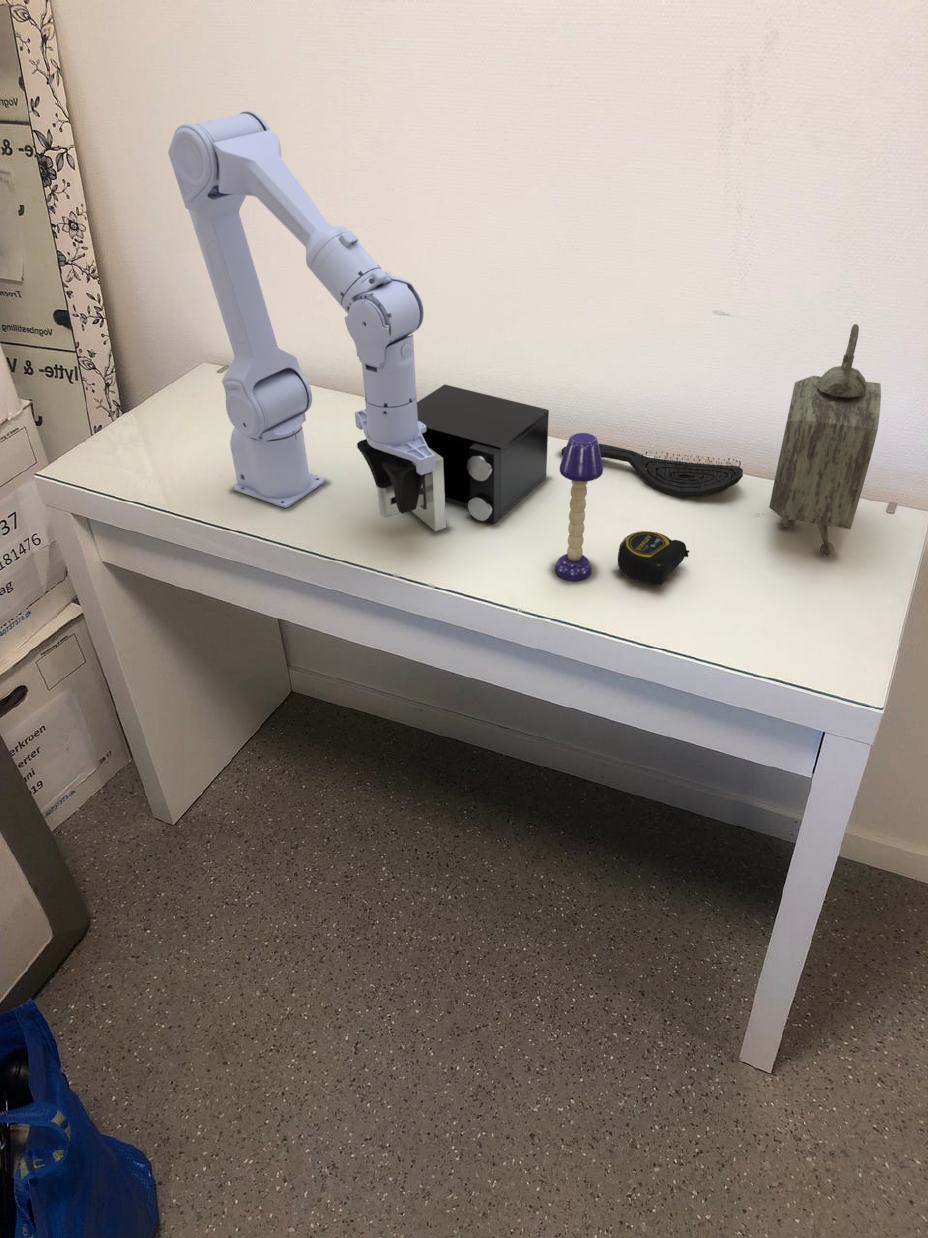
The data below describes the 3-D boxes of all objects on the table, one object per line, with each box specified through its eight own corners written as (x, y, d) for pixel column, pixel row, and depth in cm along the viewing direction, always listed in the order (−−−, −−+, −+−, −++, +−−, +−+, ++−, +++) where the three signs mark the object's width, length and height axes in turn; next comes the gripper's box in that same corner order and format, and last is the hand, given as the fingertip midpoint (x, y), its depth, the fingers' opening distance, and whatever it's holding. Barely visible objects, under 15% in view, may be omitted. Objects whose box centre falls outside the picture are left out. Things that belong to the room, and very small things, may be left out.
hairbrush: (575, 422, 130) (752, 453, 119) (575, 446, 132) (748, 478, 121) (549, 447, 124) (732, 481, 113) (550, 471, 126) (729, 507, 116)
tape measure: (659, 596, 102) (663, 568, 100) (605, 575, 105) (607, 548, 103) (687, 567, 106) (691, 540, 104) (634, 548, 109) (637, 521, 107)
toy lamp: (553, 557, 108) (559, 428, 98) (593, 557, 108) (603, 427, 98) (555, 581, 105) (562, 449, 94) (596, 581, 104) (607, 448, 94)
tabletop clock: (840, 567, 105) (898, 357, 90) (759, 553, 108) (802, 347, 93) (845, 505, 116) (898, 308, 101) (771, 494, 119) (811, 300, 103)
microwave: (490, 528, 114) (490, 455, 108) (386, 495, 121) (380, 425, 115) (546, 478, 123) (548, 409, 117) (447, 450, 130) (444, 383, 124)
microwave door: (394, 546, 111) (388, 475, 105) (348, 504, 119) (340, 436, 113) (446, 527, 114) (443, 457, 108) (398, 487, 122) (392, 420, 116)
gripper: (457, 409, 98) (460, 517, 107) (388, 366, 108) (395, 468, 116) (401, 427, 95) (408, 537, 104) (335, 381, 105) (346, 485, 113)
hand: (398, 502), depth 110 cm, fingers open, 4 cm apart
